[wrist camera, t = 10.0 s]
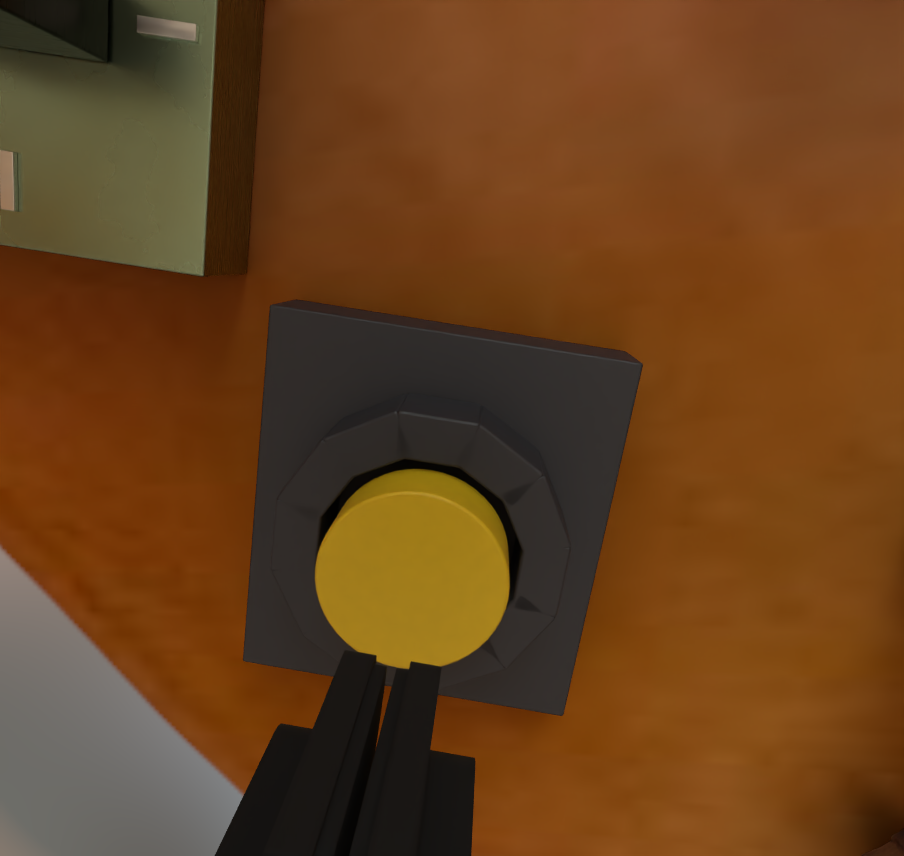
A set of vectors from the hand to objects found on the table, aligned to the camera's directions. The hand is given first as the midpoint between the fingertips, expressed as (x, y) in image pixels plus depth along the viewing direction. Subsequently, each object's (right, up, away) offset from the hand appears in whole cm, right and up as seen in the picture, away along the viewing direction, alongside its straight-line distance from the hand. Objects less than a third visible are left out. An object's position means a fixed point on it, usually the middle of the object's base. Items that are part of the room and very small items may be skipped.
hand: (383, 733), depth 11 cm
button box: (+1, +3, +10) cm, 10 cm away
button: (0, +2, +6) cm, 6 cm away
